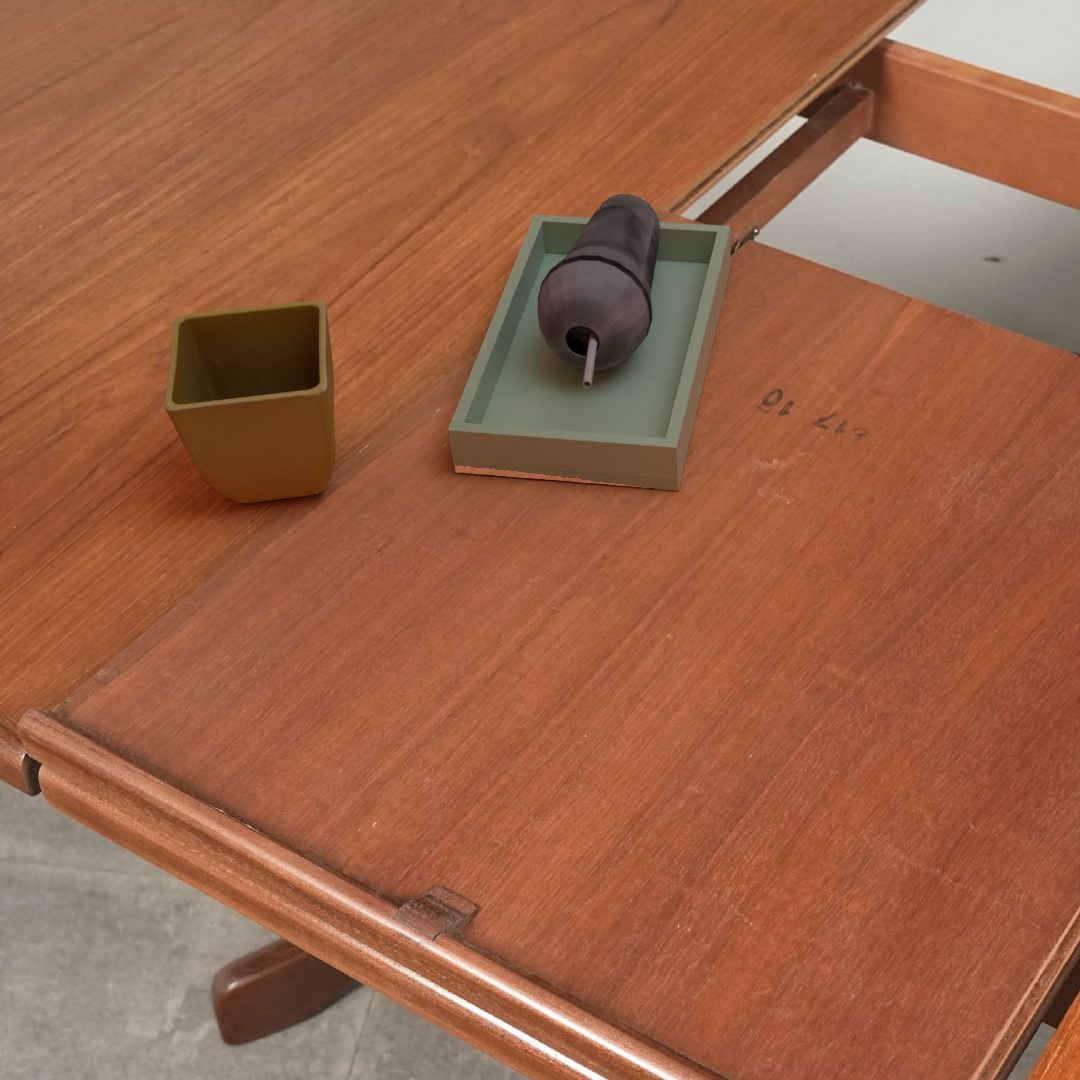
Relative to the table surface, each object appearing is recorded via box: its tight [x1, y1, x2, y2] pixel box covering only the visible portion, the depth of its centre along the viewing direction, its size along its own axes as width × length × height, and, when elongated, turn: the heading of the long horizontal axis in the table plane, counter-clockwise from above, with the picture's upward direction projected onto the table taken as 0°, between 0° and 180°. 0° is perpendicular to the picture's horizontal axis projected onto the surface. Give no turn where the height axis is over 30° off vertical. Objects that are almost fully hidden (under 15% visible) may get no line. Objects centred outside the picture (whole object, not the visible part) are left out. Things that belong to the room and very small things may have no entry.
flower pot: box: [164, 300, 336, 504], centre depth 90 cm, size 9×9×9 cm
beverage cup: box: [537, 193, 661, 388], centre depth 97 cm, size 7×7×20 cm
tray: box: [447, 214, 732, 492], centre depth 99 cm, size 24×14×3 cm, turn 172°
